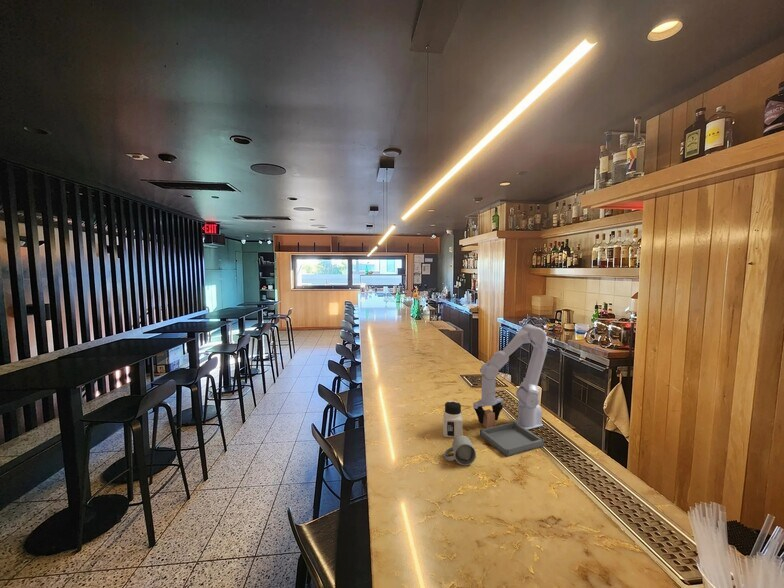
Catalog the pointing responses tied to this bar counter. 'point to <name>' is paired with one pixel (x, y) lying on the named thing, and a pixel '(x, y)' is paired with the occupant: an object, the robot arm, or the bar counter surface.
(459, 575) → the bar counter surface
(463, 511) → the bar counter surface
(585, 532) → the bar counter surface
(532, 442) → the charcoal tray
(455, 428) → the container
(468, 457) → the ceramic mug
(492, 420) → the terracotta block
